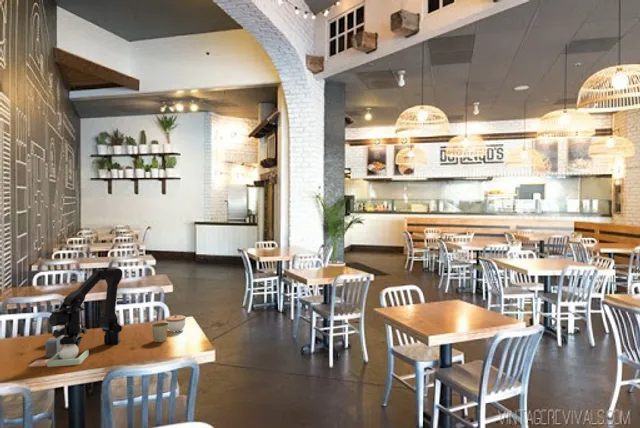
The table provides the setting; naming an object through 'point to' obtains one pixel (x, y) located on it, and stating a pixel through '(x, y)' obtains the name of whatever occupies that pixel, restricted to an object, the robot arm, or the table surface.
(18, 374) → the table surface
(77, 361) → the frame
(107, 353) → the table surface
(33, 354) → the table surface
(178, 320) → the lidded jar
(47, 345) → the grey block
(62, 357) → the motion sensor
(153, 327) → the flower pot
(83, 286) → the robot arm
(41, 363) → the terracotta mat
